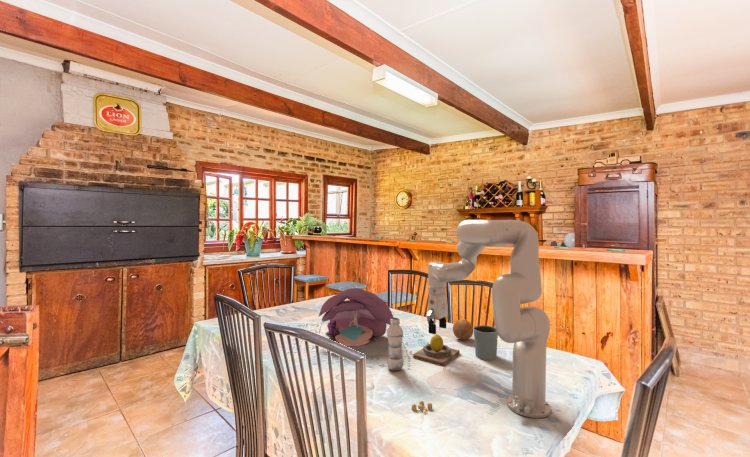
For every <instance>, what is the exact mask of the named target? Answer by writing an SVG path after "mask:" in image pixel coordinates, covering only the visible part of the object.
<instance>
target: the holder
mask: <svg viewBox="0 0 750 457" xmlns="http://www.w3.org/2000/svg"><path fill="white" fill-rule="evenodd" d="M460 353H461V352H460V349H456V348H455V349H454V348H451V347H449V346H448V345H445V344H443V348H442V350H441V351H439V352H435V351H433V350H432V348H431V346H430V343H427V344H426V345H423V346H422V348H421V349H420V350H418V351H416V352H415V353H413V355H412V356H413V359H416V360H420V361H424V362H426V363H431V364H435V365H437V366H442V367H444V366H446V365H447V364H449V362H451V361H452V360H453V359H455V358H456V357H457V356H459V355H460Z"/></svg>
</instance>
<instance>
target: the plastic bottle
mask: <svg viewBox="0 0 750 457" xmlns="http://www.w3.org/2000/svg"><path fill="white" fill-rule="evenodd" d="M390 324H391V325H389V326H388V328H387V329H386V337H387V345H388V347H387V349H388V350H387V358H386V366H387V369H389V370H391V371H395V372H398V371H401V370H402V369H403V365H404V359H403V350H402V346H403V344H402V343H403V339H404V338H403V337H404V330H403V329H402V326H400V325H401V324H400V318H399V317H394V318H391V319H390Z"/></svg>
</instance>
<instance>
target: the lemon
mask: <svg viewBox="0 0 750 457" xmlns="http://www.w3.org/2000/svg"><path fill="white" fill-rule="evenodd" d="M429 341H430V342H429V344H430V346H431V348H432V350H433V351H435V352H439V351H441V350H442V348H443V345H444V340H443V338H442V336H440V335H439V334H438V333H436V334H433V335H432V337H431V339H430V340H429Z"/></svg>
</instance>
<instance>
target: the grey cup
mask: <svg viewBox="0 0 750 457" xmlns="http://www.w3.org/2000/svg"><path fill="white" fill-rule="evenodd" d="M498 337H499V336H498V334H497V332H496V329H495V326H491V325H476V326H474V327H473V338H474V339H473V340H474V349H475V350H474V352H475V357H476V358H478V359H479V360H483V361H494V360H496V359H497V355H498V354H497V353H498V351H497V350H498Z"/></svg>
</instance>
